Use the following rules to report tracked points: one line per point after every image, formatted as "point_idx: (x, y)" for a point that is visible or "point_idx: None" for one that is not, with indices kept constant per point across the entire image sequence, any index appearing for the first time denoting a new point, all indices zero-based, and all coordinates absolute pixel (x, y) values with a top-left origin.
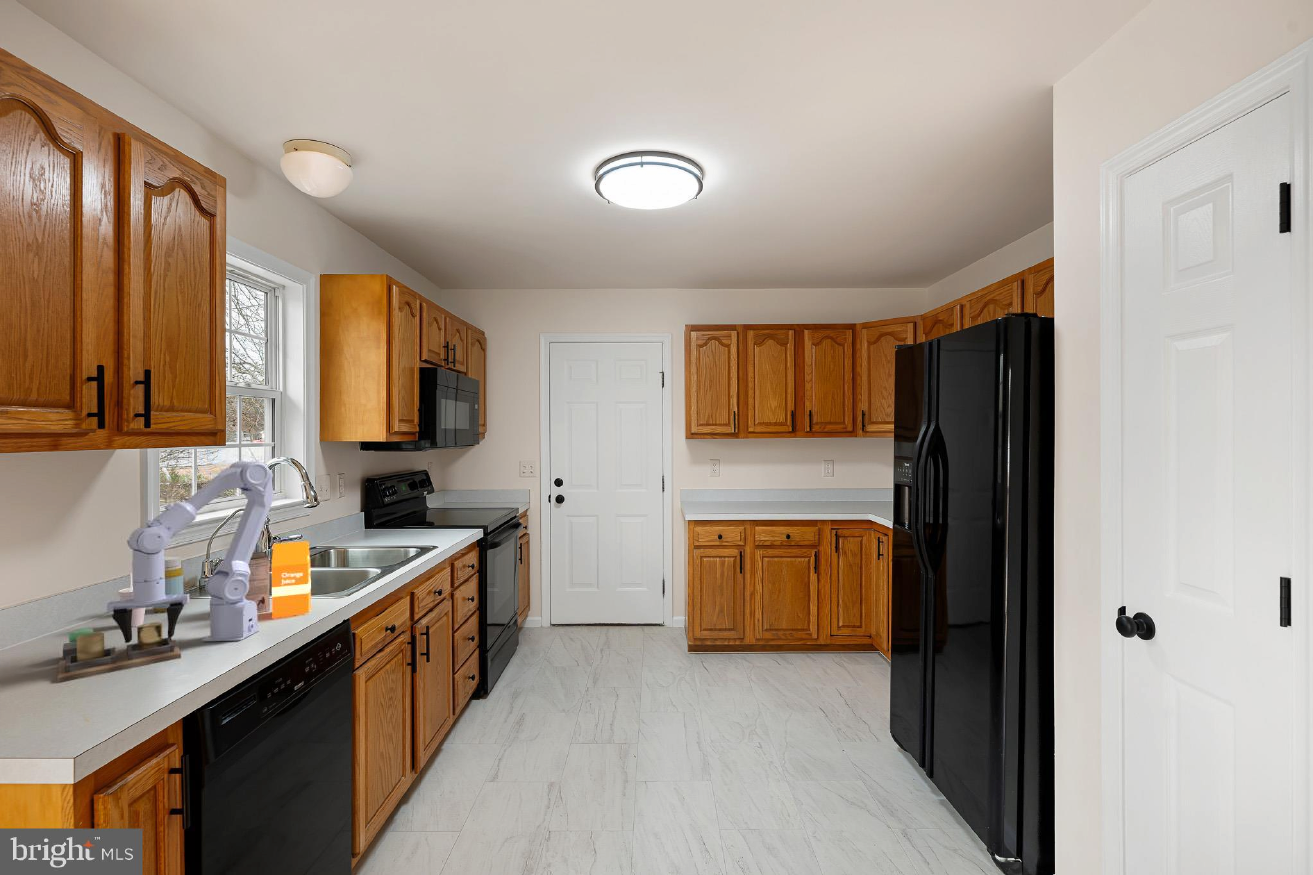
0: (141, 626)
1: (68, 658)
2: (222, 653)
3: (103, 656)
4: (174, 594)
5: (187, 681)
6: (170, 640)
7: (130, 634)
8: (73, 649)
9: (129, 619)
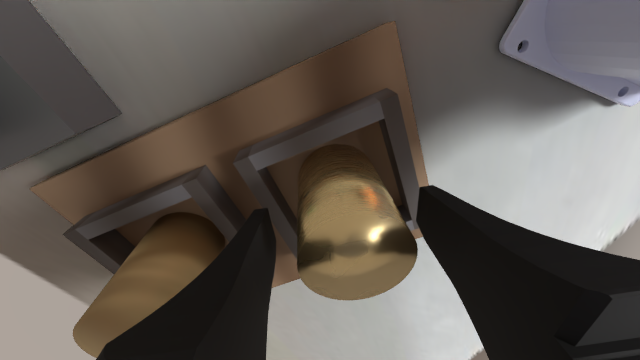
0: (319, 273)
1: (108, 262)
2: (533, 219)
3: (220, 252)
4: None
5: (452, 342)
6: (406, 160)
7: (266, 242)
8: (1, 169)
9: (248, 323)
